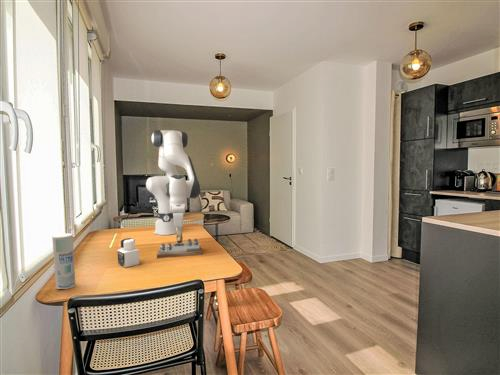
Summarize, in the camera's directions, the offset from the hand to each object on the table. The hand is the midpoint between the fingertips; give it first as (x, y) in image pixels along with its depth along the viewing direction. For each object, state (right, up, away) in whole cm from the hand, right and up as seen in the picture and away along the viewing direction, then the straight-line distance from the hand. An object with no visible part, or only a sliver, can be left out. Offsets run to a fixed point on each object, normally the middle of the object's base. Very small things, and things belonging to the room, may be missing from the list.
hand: (179, 232), depth 152 cm
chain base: (0, -11, +1) cm, 11 cm away
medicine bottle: (-20, -13, -16) cm, 28 cm away
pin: (0, -5, 0) cm, 5 cm away
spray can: (-34, -15, -40) cm, 55 cm away
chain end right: (+3, -9, +2) cm, 10 cm away
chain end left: (-3, -9, 0) cm, 10 cm away
